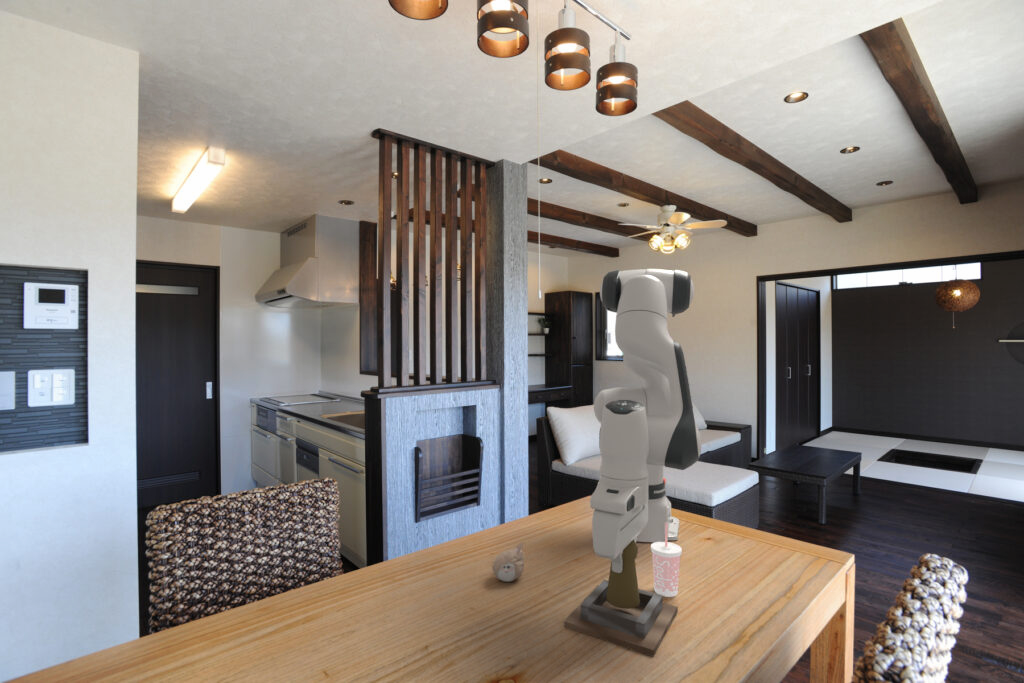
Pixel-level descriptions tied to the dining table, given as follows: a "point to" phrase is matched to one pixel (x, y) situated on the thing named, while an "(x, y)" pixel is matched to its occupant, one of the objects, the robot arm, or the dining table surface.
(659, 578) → the beverage cup
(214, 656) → the dining table surface
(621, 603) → the olive pawn peg
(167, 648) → the dining table surface
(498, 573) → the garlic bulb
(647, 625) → the socket base
